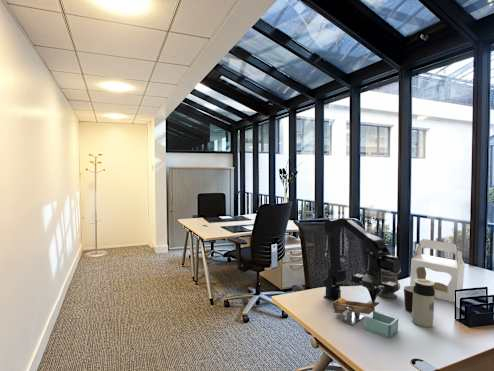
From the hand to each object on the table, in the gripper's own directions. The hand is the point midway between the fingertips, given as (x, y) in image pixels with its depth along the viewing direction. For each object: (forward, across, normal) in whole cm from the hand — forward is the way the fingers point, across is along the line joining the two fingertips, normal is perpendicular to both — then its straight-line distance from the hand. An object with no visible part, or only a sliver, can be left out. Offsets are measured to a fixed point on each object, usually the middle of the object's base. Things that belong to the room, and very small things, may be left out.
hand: (373, 301), depth 143 cm
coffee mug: (+7, +12, +21) cm, 25 cm away
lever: (+4, -4, -6) cm, 8 cm away
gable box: (+7, +12, +52) cm, 54 cm away
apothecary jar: (+7, -4, +29) cm, 30 cm away
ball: (0, -10, -10) cm, 14 cm away
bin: (+6, +8, -10) cm, 14 cm away
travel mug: (+7, +18, +9) cm, 21 cm away
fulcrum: (+6, -4, -10) cm, 13 cm away
